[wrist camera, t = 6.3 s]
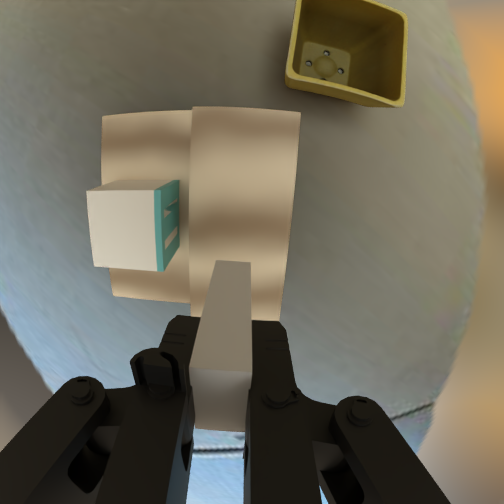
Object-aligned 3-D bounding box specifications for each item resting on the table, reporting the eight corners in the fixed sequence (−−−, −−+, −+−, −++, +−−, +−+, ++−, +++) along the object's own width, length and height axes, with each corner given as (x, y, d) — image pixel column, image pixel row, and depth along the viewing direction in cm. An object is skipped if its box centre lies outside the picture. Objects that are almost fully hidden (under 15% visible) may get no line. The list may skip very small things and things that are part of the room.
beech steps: (118, 118, 24) (89, 114, 19) (289, 119, 25) (300, 112, 19) (124, 280, 31) (103, 307, 25) (273, 291, 32) (278, 322, 26)
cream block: (179, 179, 24) (116, 180, 23) (160, 190, 18) (86, 191, 18) (179, 246, 26) (120, 242, 26) (163, 271, 21) (94, 266, 20)
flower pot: (285, 21, 21) (299, -22, 13) (368, 42, 22) (409, 13, 13) (273, 98, 24) (284, 77, 16) (360, 117, 25) (404, 110, 16)
